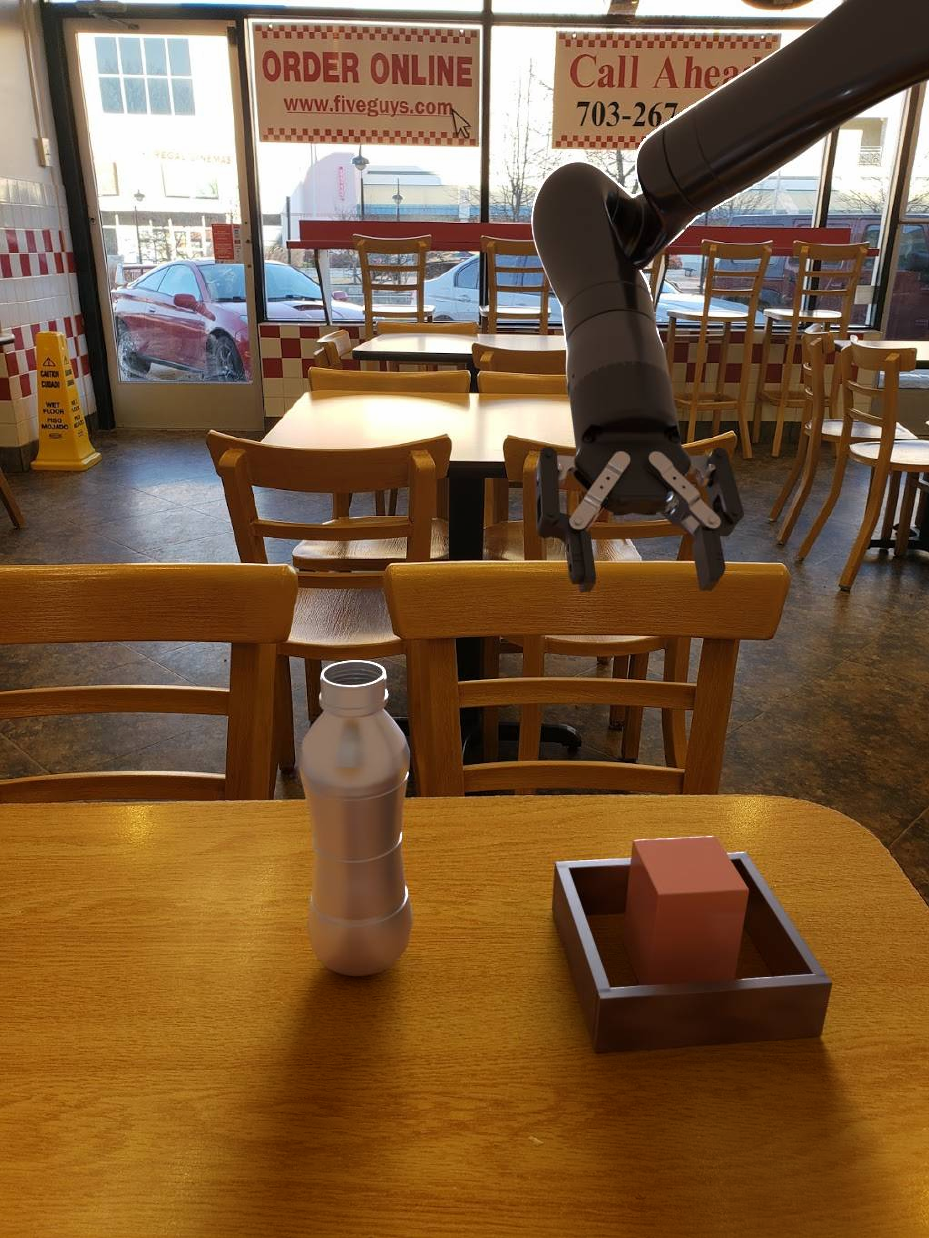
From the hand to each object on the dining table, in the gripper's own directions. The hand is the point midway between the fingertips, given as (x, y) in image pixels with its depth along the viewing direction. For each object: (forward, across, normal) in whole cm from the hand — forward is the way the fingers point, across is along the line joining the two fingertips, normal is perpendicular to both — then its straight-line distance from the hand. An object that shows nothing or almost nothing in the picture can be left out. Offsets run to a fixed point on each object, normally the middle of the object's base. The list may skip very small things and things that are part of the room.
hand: (649, 586), depth 64 cm
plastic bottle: (+22, -20, +9) cm, 31 cm away
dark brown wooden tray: (+24, 0, +6) cm, 25 cm away
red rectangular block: (+24, 0, +6) cm, 25 cm away
